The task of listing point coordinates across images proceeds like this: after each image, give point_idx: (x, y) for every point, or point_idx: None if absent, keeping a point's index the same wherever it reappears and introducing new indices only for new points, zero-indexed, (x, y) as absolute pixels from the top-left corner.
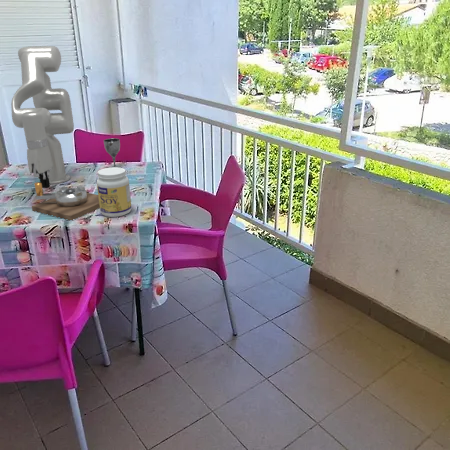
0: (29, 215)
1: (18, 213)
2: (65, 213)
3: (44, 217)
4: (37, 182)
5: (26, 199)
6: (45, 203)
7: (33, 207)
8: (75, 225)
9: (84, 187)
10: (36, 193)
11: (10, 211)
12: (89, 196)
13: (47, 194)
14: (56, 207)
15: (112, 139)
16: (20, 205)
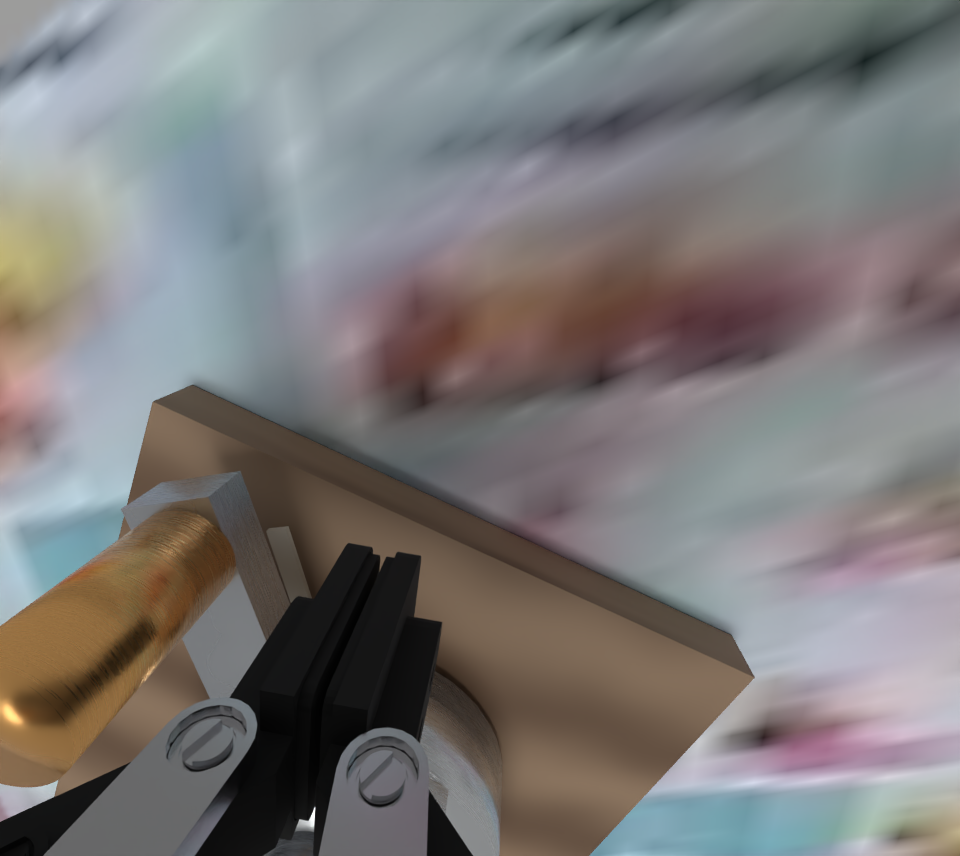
0: (74, 409)
1: (82, 250)
2: (84, 767)
3: (80, 566)
4: (26, 713)
5: (574, 79)
6: (267, 527)
7: (153, 425)
8: (32, 802)
9: None
10: (115, 543)
11: (104, 93)
12: (511, 845)
13: (226, 641)
14: (187, 667)
15: None
16: (327, 121)
